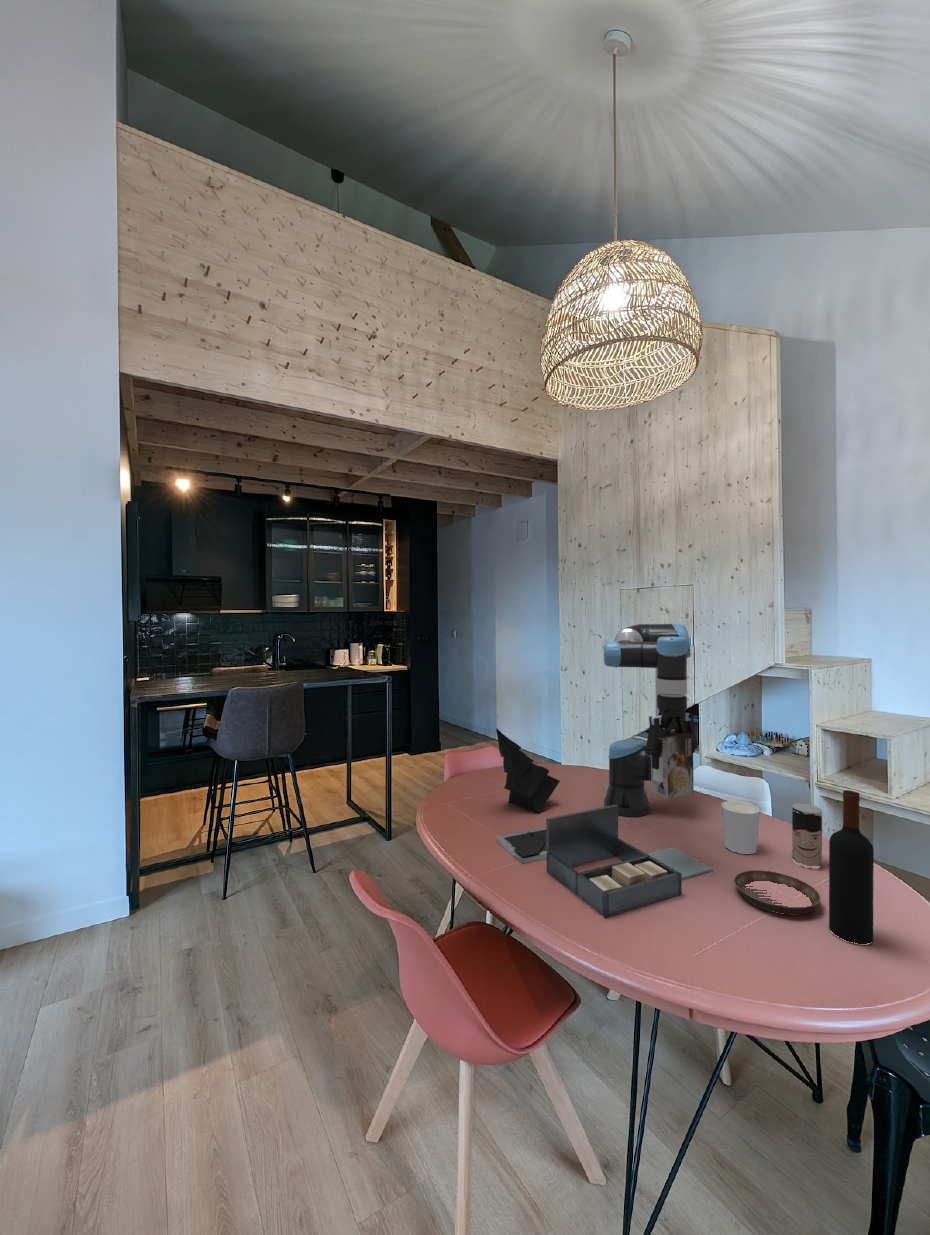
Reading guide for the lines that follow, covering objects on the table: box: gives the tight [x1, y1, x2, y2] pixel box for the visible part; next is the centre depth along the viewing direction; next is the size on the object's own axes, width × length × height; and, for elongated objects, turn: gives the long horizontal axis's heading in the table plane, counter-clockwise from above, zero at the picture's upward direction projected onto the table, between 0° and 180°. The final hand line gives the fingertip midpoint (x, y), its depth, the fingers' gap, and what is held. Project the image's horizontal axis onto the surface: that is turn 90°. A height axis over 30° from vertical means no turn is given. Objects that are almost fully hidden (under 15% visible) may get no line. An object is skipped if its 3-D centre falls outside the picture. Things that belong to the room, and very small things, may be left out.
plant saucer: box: [733, 869, 821, 915], centre depth 127 cm, size 18×18×3 cm
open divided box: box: [545, 805, 683, 919], centre depth 135 cm, size 23×24×14 cm
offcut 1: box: [589, 875, 622, 892], centre depth 126 cm, size 5×6×4 cm
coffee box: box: [650, 730, 695, 800], centre depth 144 cm, size 9×6×16 cm
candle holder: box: [721, 800, 761, 854], centre depth 154 cm, size 10×10×12 cm
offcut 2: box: [634, 861, 667, 881], centre depth 132 cm, size 5×6×5 cm
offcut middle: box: [612, 863, 645, 888], centre depth 129 cm, size 5×6×6 cm
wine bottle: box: [828, 789, 874, 944], centre depth 113 cm, size 8×8×30 cm
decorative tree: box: [495, 727, 561, 815], centre depth 185 cm, size 15×15×35 cm
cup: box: [791, 803, 823, 866], centre depth 144 cm, size 7×7×15 cm
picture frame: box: [495, 826, 547, 865], centre depth 157 cm, size 16×3×21 cm
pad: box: [646, 846, 714, 881], centre depth 144 cm, size 14×14×1 cm
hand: (671, 778), depth 144 cm, fingers closed on coffee box, 9 cm apart
